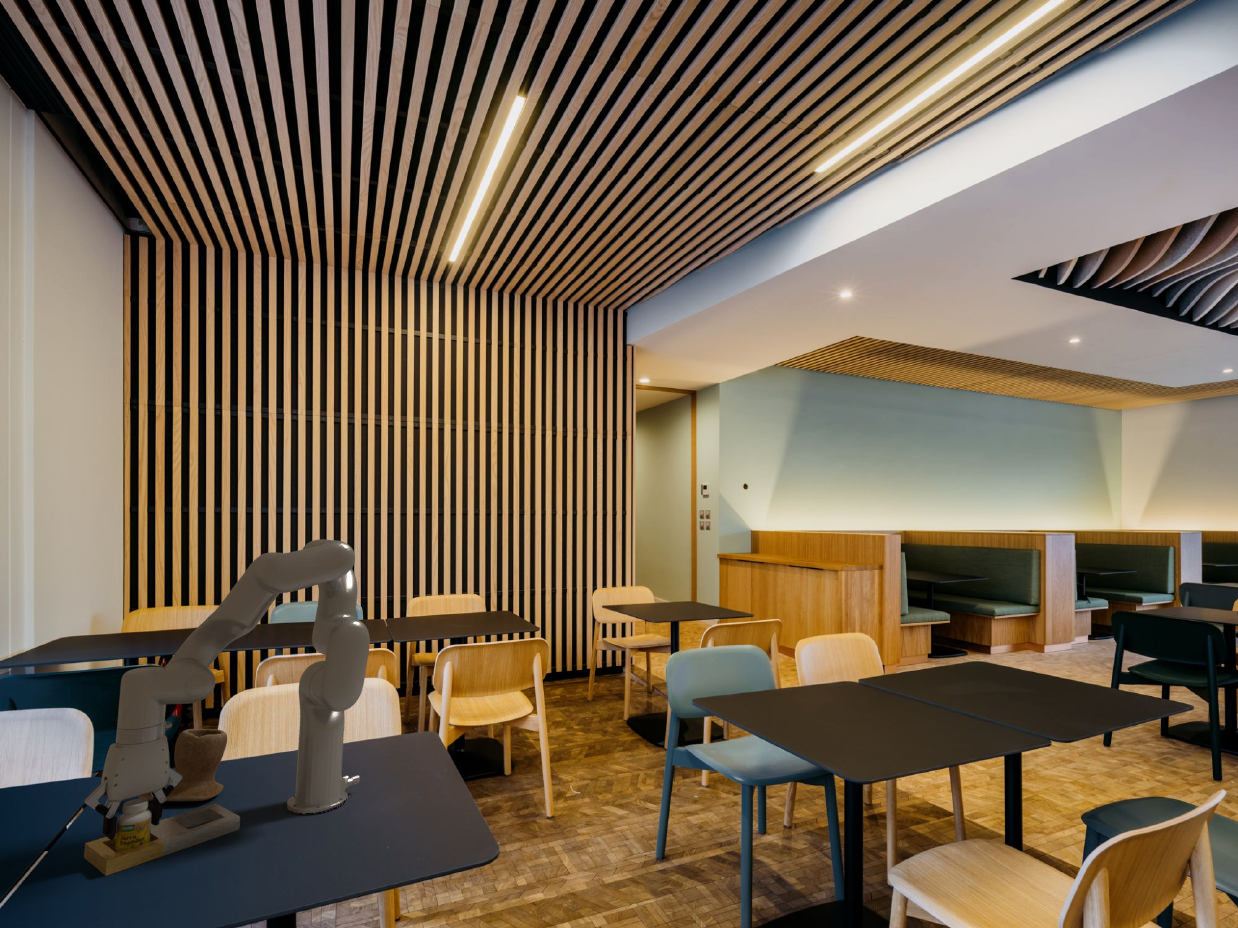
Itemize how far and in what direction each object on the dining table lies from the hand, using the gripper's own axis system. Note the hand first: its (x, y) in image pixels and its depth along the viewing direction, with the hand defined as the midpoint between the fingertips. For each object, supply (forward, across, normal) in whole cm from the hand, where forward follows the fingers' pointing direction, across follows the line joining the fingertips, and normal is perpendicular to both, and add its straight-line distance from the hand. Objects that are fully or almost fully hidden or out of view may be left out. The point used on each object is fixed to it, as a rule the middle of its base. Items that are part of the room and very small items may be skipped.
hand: (132, 829), depth 126 cm
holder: (+5, -6, 0) cm, 8 cm away
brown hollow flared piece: (+5, -18, -21) cm, 28 cm away
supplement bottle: (+5, 0, 0) cm, 5 cm away
